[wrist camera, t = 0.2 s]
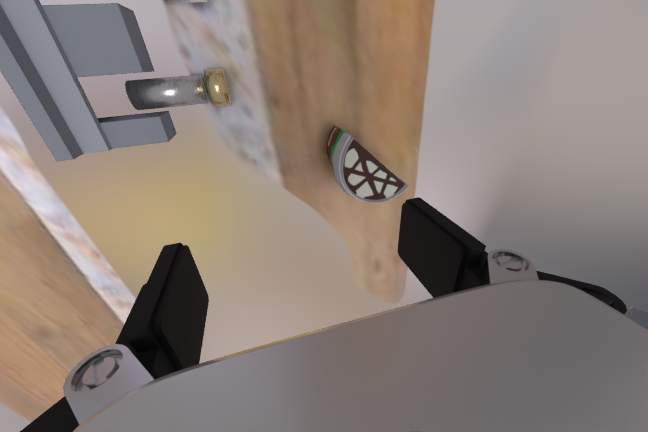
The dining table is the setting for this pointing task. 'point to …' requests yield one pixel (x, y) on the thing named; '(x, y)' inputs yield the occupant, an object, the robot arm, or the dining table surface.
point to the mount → (75, 73)
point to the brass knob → (179, 90)
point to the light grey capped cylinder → (195, 1)
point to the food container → (361, 170)
